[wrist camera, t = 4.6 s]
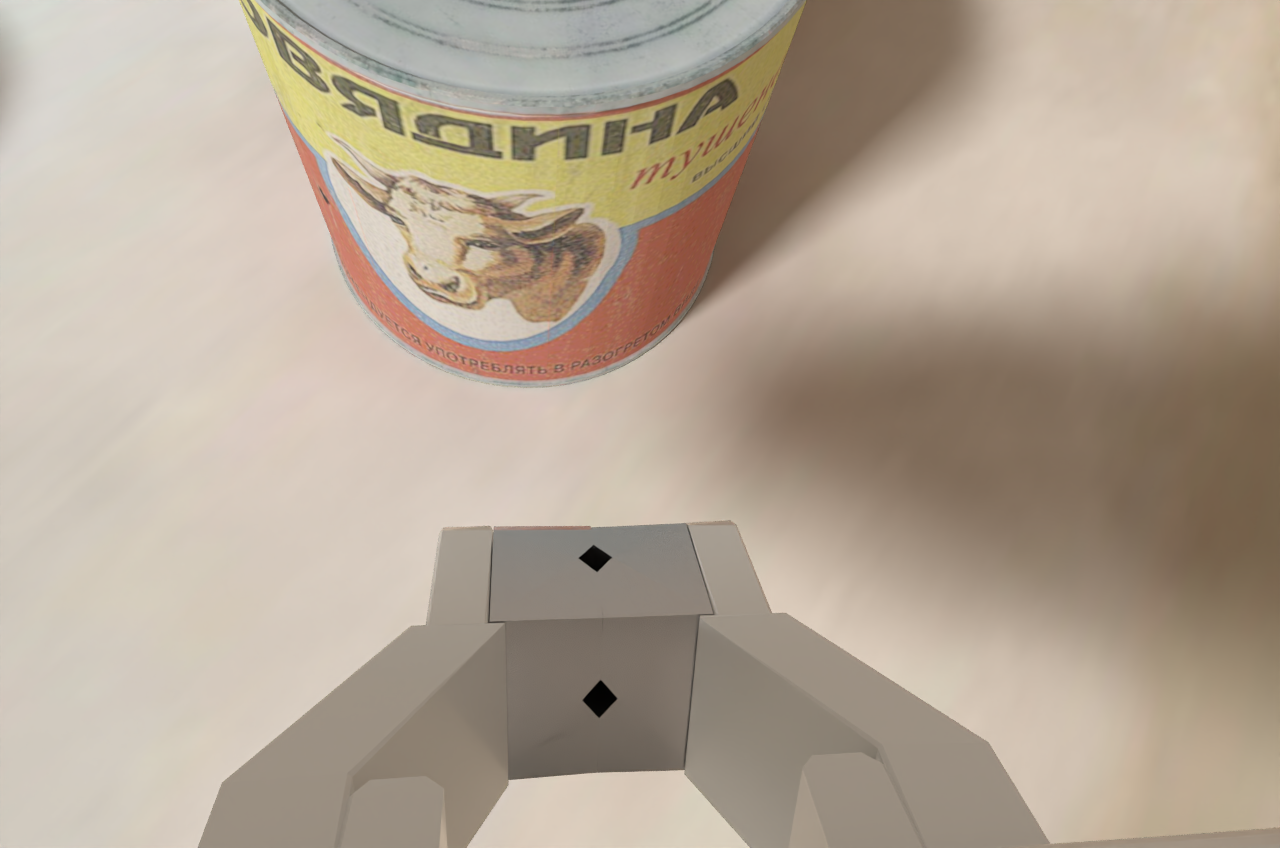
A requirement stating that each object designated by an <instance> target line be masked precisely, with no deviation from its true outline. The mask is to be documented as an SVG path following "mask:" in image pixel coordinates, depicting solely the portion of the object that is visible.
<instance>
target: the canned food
mask: <svg viewBox="0 0 1280 848" xmlns="http://www.w3.org/2000/svg"><path fill="white" fill-rule="evenodd" d="M239 1H240V4H241V7H242V9H243V12H244V14H245V17H246V19H247V22H248V24H249V27H250V30H251V32H252V35H253V37H254V40H255V42H256V45H257V47H258V50H259V53H260V55H261V58H262V60H263V63H264V65H265V68H266V71H267V73H268V76H269V78H270V81H271V83H272V86H273V88H274V91H275V94H276V96H277V99H278V101H279V104H280V106H281V109H282V111H283V114H284V117H285V119H286V122H287V124H288V127H289V129H290V132H291V135H292V137H293V140H294V142H295V145H296V147H297V150H298V152H299V155H300V158H301V160H302V163H303V165H304V168H305V170H306V173H307V175H308V178H309V181H310V183H311V186H312V188H313V191H314V193H315V196H316V199H317V201H318V204H319V206H320V209H321V211H322V214H323V216H324V219H325V222H326V224H327V227H328V229H329V232H330V234H331V238H332V243H333V248H334V252H335V255H336V258H337V261H338V264H339V267H340V270H341V272H342V274H343V276H344V278H345V281H346V283H347V285H348V287H349V289H350V290H351V292H352V294H353V295H354V297H355V299H356V300H357V302H358V303H359V305H360V306H361V307H362V309H363V310H364V311H365V313H366V314H367V315H368V316H369V318H370V319H371V320H372V321H373V322H374V323H375V324H376V325H377V326H378V327H379V328H380V329H381V330H382V331H383V332H384V333H385V334H386V335H387V336H389V337H390V338H391V339H392V340H393V341H394V342H395V343H397V344H398V345H400V346H401V347H402V348H404V349H405V350H407V351H408V352H409V353H411V354H412V355H414V356H416V357H418V358H419V359H421V360H423V361H425V362H426V363H428V364H430V365H432V366H435V367H437V368H439V369H441V370H443V371H446V372H448V373H451V374H454V375H457V376H460V377H463V378H466V379H469V380H473V381H478V382H482V383H486V384H492V385H499V386H506V387H523V388H533V387H551V386H559V385H566V384H571V383H575V382H580V381H585V380H588V379H591V378H594V377H597V376H600V375H604V374H606V373H608V372H611V371H613V370H615V369H618V368H620V367H622V366H624V365H626V364H628V363H629V362H631V361H633V360H635V359H637V358H638V357H640V356H641V355H643V354H644V353H646V352H647V351H649V350H650V349H651V348H653V347H654V346H655V345H656V344H658V343H659V342H660V341H661V340H662V339H664V338H665V337H666V336H667V335H668V334H669V333H670V332H671V331H672V330H673V329H674V328H675V327H676V326H677V325H678V323H679V322H680V321H681V320H682V318H683V317H684V316H685V314H686V313H687V312H688V311H689V309H690V308H691V306H692V304H693V303H694V301H695V299H696V298H697V296H698V294H699V292H700V290H701V288H702V286H703V284H704V281H705V279H706V277H707V274H708V271H709V268H710V265H711V262H712V258H713V253H714V248H715V243H716V241H717V238H718V235H719V233H720V230H721V227H722V225H723V222H724V219H725V217H726V214H727V211H728V209H729V206H730V203H731V201H732V198H733V195H734V193H735V190H736V187H737V185H738V182H739V179H740V177H741V174H742V171H743V169H744V166H745V163H746V161H747V158H748V155H749V153H750V150H751V147H752V145H753V142H754V139H755V137H756V134H757V131H758V129H759V126H760V123H761V121H762V118H763V115H764V113H765V110H766V107H767V105H768V102H769V99H770V97H771V94H772V92H773V89H774V86H775V84H776V81H777V78H778V76H779V73H780V70H781V68H782V65H783V62H784V60H785V57H786V54H787V52H788V49H789V46H790V44H791V41H792V38H793V36H794V33H795V30H796V28H797V25H798V22H799V20H800V17H801V14H802V12H803V9H804V6H805V4H806V1H807V0H239Z"/></svg>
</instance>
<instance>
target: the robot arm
mask: <svg viewBox="0 0 1280 848" xmlns="http://www.w3.org/2000/svg"><path fill="white" fill-rule="evenodd" d="M669 770H685V773H684V774H685V775H686V776H687V777H688V779H689V780H690V781H691V782H692V783H693V784H694V785H695V786H696V788H697V789H698V790H699V791H700V792H701V793H702V794H703V795H704V797H705V798H706V799H707V800H708V801H709V802H710V803H711V804H712V805H713V807H714V808H715V809H716V810H717V811H718V812H719V813H720V814H721V816H722V817H723V818H724V819H725V820H726V821H727V822H728V823H729V824H730V826H731V827H732V828H733V829H734V830H735V831H736V832H737V833H738V835H739V836H740V837H741V838H742V839H743V840H744V841H745V842H746V843H747V845H748V846H749V847H750V848H1280V828H1266V829H1253V830H1240V831H1227V832H1214V833H1201V834H1187V835H1173V836H1158V837H1144V838H1129V839H1115V840H1100V841H1086V842H1071V843H1057V844H1050V842H1049V841H1048V839H1047V838H1046V836H1045V834H1044V833H1043V831H1042V829H1041V828H1040V826H1039V824H1038V823H1037V821H1036V819H1035V818H1034V816H1033V815H1032V813H1031V811H1030V810H1029V808H1028V806H1027V805H1026V803H1025V801H1024V800H1023V798H1022V797H1021V795H1020V793H1019V792H1018V790H1017V788H1016V787H1015V785H1014V783H1013V782H1012V780H1011V779H1010V777H1009V775H1008V774H1007V772H1006V770H1005V769H1004V767H1003V765H1002V764H1001V762H1000V760H999V759H998V757H997V756H996V754H995V752H994V751H993V749H992V747H991V746H990V744H989V743H988V742H987V741H985V740H984V739H982V738H981V737H979V736H977V735H976V734H974V733H973V732H971V731H970V730H968V729H966V728H965V727H963V726H962V725H960V724H959V723H957V722H956V721H954V720H952V719H951V718H949V717H948V716H946V715H945V714H943V713H941V712H940V711H938V710H937V709H935V708H934V707H932V706H931V705H929V704H927V703H926V702H924V701H923V700H921V699H920V698H918V697H916V696H915V695H913V694H912V693H910V692H909V691H907V690H906V689H904V688H902V687H901V686H899V685H898V684H896V683H895V682H893V681H891V680H890V679H888V678H887V677H885V676H884V675H882V674H881V673H879V672H877V671H876V670H874V669H873V668H871V667H870V666H868V665H866V664H865V663H863V662H862V661H860V660H859V659H857V658H856V657H854V656H852V655H851V654H849V653H848V652H846V651H845V650H843V649H841V648H840V647H838V646H837V645H835V644H834V643H832V642H831V641H829V640H827V639H826V638H824V637H823V636H821V635H820V634H818V633H816V632H815V631H813V630H812V629H810V628H809V627H807V626H806V625H804V624H802V623H801V622H799V621H798V620H796V619H795V618H793V617H791V616H790V615H788V614H787V613H772V612H771V609H770V607H769V604H768V602H767V599H766V597H765V594H764V592H763V589H762V587H761V584H760V582H759V580H758V577H757V575H756V572H755V570H754V567H753V565H752V562H751V560H750V557H749V555H748V552H747V550H746V547H745V545H744V543H743V540H742V538H741V535H740V533H739V530H738V528H737V525H736V524H735V523H733V522H732V521H713V522H697V523H682V524H660V525H639V526H617V527H596V528H591V527H590V526H516V527H494V530H493V529H492V528H491V527H490V526H475V527H446V528H443V529H442V530H441V532H440V533H439V538H438V545H437V552H436V559H435V566H434V572H433V579H432V586H431V593H430V600H429V607H428V614H427V621H426V625H422V626H411V627H409V628H408V629H407V630H405V631H404V632H403V633H402V634H401V635H399V636H398V637H397V638H396V639H395V640H393V641H392V642H391V643H390V644H389V645H387V646H386V647H385V648H384V649H383V650H381V651H380V652H379V653H378V654H377V655H375V656H374V657H373V658H372V659H371V660H369V661H368V662H367V663H366V664H365V665H363V666H362V667H361V668H360V669H358V670H357V671H356V672H355V673H354V674H352V675H351V676H350V677H349V678H348V679H346V680H345V681H344V682H343V683H342V684H340V685H339V686H338V687H337V688H336V689H334V690H333V691H332V692H331V693H330V694H328V695H327V696H326V697H325V698H324V699H322V700H321V701H320V702H319V703H318V704H316V705H315V706H314V707H313V708H312V709H310V710H309V711H308V712H307V713H306V714H304V715H303V716H302V717H301V718H300V719H298V720H297V721H296V722H295V723H293V724H292V725H291V726H290V727H289V728H287V729H286V730H285V731H284V732H283V733H281V734H280V735H279V736H278V737H277V738H275V739H274V740H273V741H272V742H271V743H269V744H268V745H267V746H266V747H265V748H263V749H262V750H261V751H260V752H259V753H257V754H256V755H255V756H254V757H253V758H251V759H250V760H249V761H248V762H247V763H245V764H244V765H243V766H242V767H241V768H239V769H238V770H237V771H236V772H235V773H233V774H232V775H231V776H230V777H229V778H227V779H226V780H225V781H224V782H222V784H221V787H220V790H219V792H218V795H217V798H216V800H215V803H214V806H213V808H212V811H211V814H210V816H209V819H208V822H207V824H206V827H205V830H204V832H203V835H202V838H201V840H200V843H199V846H198V848H466V847H467V846H468V844H469V843H470V841H471V840H472V838H473V837H474V835H475V834H476V832H477V831H478V829H479V828H480V827H481V825H482V824H483V822H484V821H485V819H486V818H487V816H488V815H489V813H490V812H491V810H492V809H493V807H494V806H495V804H496V803H497V801H498V800H499V798H500V797H501V795H502V794H503V792H504V791H505V789H506V788H507V786H508V780H513V779H525V778H537V777H549V776H561V775H573V774H585V773H599V772H634V771H669Z"/></svg>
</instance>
